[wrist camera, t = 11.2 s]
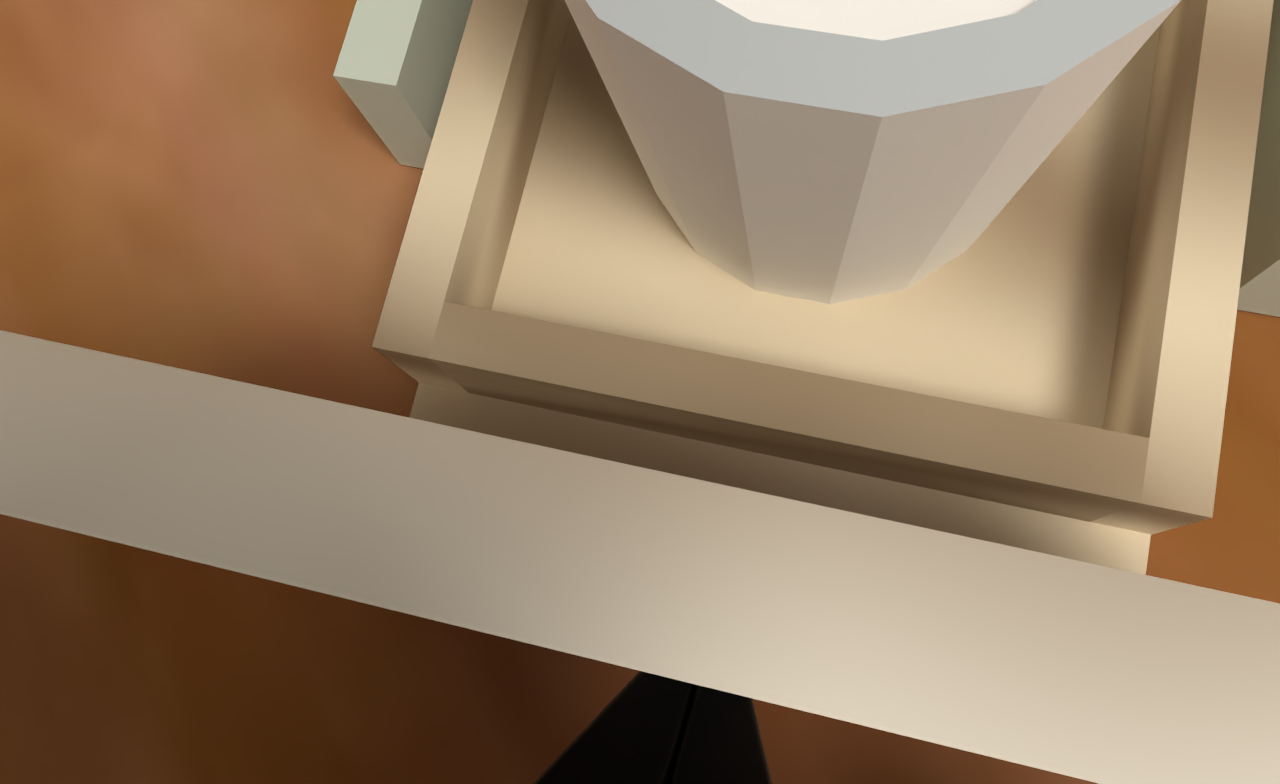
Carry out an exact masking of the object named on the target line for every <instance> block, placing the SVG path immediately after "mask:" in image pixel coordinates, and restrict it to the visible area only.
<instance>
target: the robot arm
mask: <svg viewBox="0 0 1280 784" xmlns="http://www.w3.org/2000/svg"><path fill="white" fill-rule="evenodd" d="M533 784H772V781H771V777H770V773H769V768H768V764H767V760H766V756H765V751H764V747H763V743H762V739H761V734H760V730H759V726H758V722H757V717H756V713H755V709H754V705H753V701H752V698H749V697H744V696H740V695H736V694H732V693H728V692H724V691H720V690H716V689H712V688H708V687H704V686H700V685H696V684H691V683H687V682H683V681H679V680H675V679H671V678H667V677H663V676H659V675H655V674H651V673H647V672H643V671H640V672H639V673H638V674H637V675H636V676H635V677H634V678H633V679H632V680H631V681H630V682H629V683H628V684H627V685H626V686H625V687H624V688H623V689H622V691H621V692H620V693H619V694H618V695H617V696H616V697H615V698H614V699H613V700H612V701H611V702H610V703H609V704H608V705H607V706H606V707H605V708H604V709H603V711H602V712H601V713H600V714H599V715H598V716H597V717H596V718H595V719H594V720H593V721H592V722H591V723H590V724H589V725H588V726H587V727H586V728H585V729H584V731H583V732H582V733H581V734H580V735H579V736H578V737H577V738H576V739H575V740H574V741H573V742H572V743H571V744H570V745H569V746H568V747H567V748H566V749H565V751H564V752H563V753H562V754H561V755H560V756H559V757H558V758H557V759H556V760H555V761H554V762H553V763H552V764H551V765H550V766H549V767H548V768H547V769H546V771H545V772H544V773H543V774H542V775H541V776H540V777H539V778H538V779H537V780H536V781H535V782H534V783H533Z"/></svg>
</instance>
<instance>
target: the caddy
mask: <svg viewBox="0 0 1280 784" xmlns="http://www.w3.org/2000/svg"><path fill="white" fill-rule="evenodd" d="M472 2H473V0H357V2H356V5H355V8H354V12H353V15H352V18H351V21H350V24H349V27H348V30H347V34H346V37H345V40H344V43H343V46H342V49H341V52H340V56H339V59H338V62H337V65H336V68H335V71H334V74H333V76H334V78H335V79H336V80H337V82H338V83H339V84H340V85H341V87H342V88H343V89H344V91H345V92H346V93H347V95H348V96H349V97H350V99H351V100H352V101H353V103H354V104H355V105H356V107H357V108H358V109H359V111H360V112H361V113H362V115H363V116H364V117H365V119H366V120H367V121H368V123H369V124H370V125H371V127H372V128H373V129H374V131H375V132H376V133H377V134H378V136H379V137H380V138H381V140H382V141H383V142H384V144H385V145H386V146H387V148H388V149H389V150H390V152H391V153H392V154H393V156H394V157H395V158H396V160H397V161H398V162H399V164H400V165H405V166H411V167H417V168H422V169H424V166H425V163H426V159H427V156H428V153H429V149H430V146H431V142H432V139H433V136H434V132H435V129H436V125H437V122H438V118H439V115H440V112H441V108H442V105H443V101H444V98H445V95H446V91H447V88H448V84H449V81H450V78H451V74H452V71H453V67H454V64H455V60H456V57H457V54H458V50H459V47H460V43H461V40H462V37H463V33H464V30H465V26H466V23H467V19H468V16H469V13H470V9H471V6H472ZM1237 310H1242V311H1248V312H1253V313H1259V314H1265V315H1271V316H1277V317H1280V0H1274V2H1273V10H1272V18H1271V27H1270V35H1269V44H1268V52H1267V61H1266V69H1265V77H1264V86H1263V94H1262V103H1261V111H1260V120H1259V128H1258V137H1257V145H1256V153H1255V162H1254V170H1253V179H1252V187H1251V196H1250V204H1249V212H1248V221H1247V229H1246V238H1245V246H1244V255H1243V263H1242V272H1241V280H1240V288H1239V297H1238V305H1237Z"/></svg>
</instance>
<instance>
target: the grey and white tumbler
mask: <svg viewBox="0 0 1280 784" xmlns="http://www.w3.org/2000/svg"><path fill="white" fill-rule="evenodd" d="M1180 1H1181V0H565V2H566V4H567V6H568V8H569V11H570V13H571V15H572V17H573V19H574V21H575V23H576V25H577V27H578V30H579V32H580V34H581V36H582V38H583V40H584V42H585V44H586V46H587V49H588V51H589V53H590V55H591V57H592V59H593V61H594V63H595V65H596V68H597V70H598V72H599V74H600V76H601V78H602V80H603V82H604V84H605V86H606V89H607V91H608V93H609V95H610V97H611V99H612V101H613V103H614V105H615V108H616V110H617V112H618V114H619V116H620V118H621V120H622V122H623V124H624V127H625V129H626V131H627V133H628V135H629V137H630V139H631V141H632V143H633V146H634V148H635V150H636V152H637V154H638V156H639V158H640V160H641V162H642V165H643V167H644V169H645V171H646V173H647V175H648V177H649V179H650V181H651V184H652V186H653V188H654V190H655V192H656V194H657V196H658V198H659V199H660V201H661V202H662V204H663V205H664V206H665V208H666V209H667V211H668V212H669V214H670V215H671V217H672V218H673V220H674V221H675V223H676V224H677V226H678V227H679V228H680V230H681V231H682V233H683V234H684V236H685V237H686V239H687V240H688V242H689V243H690V245H691V246H692V247H693V249H694V250H695V252H696V253H698V254H700V255H701V256H703V257H704V258H706V259H707V260H709V261H711V262H712V263H714V264H715V265H717V266H718V267H720V268H721V269H723V270H725V271H726V272H728V273H729V274H731V275H732V276H734V277H736V278H737V279H739V280H740V281H742V282H743V283H745V284H747V285H748V286H750V287H751V288H753V289H754V290H756V291H762V292H767V293H772V294H778V295H783V296H788V297H794V298H799V299H804V300H810V301H815V302H820V303H825V304H833V303H839V302H844V301H849V300H855V299H860V298H866V297H871V296H876V295H882V294H887V293H892V292H898V291H903V290H905V289H907V288H908V287H910V286H912V285H913V284H915V283H916V282H918V281H920V280H921V279H923V278H924V277H926V276H927V275H929V274H931V273H932V272H934V271H935V270H937V269H939V268H940V267H942V266H943V265H945V264H947V263H948V262H950V261H951V260H953V259H954V258H956V257H958V256H959V255H961V254H962V253H964V252H966V251H967V250H968V249H969V248H970V246H971V245H972V244H973V243H974V242H975V241H976V239H977V238H978V237H979V236H980V235H981V234H982V232H983V231H984V230H985V229H986V228H987V227H988V225H989V224H990V223H991V222H992V221H993V220H994V218H995V217H996V216H997V215H998V214H999V213H1000V211H1001V210H1002V209H1003V208H1004V207H1005V206H1006V204H1007V203H1008V202H1009V201H1010V200H1011V199H1012V197H1013V196H1014V195H1015V194H1016V193H1017V192H1018V190H1019V189H1020V188H1021V187H1022V186H1023V185H1024V183H1025V182H1026V181H1027V180H1028V179H1029V178H1030V176H1031V175H1032V174H1033V173H1034V172H1035V171H1036V169H1037V168H1038V167H1039V166H1040V165H1041V164H1042V162H1043V161H1044V160H1045V159H1046V158H1047V156H1048V155H1049V154H1050V153H1051V152H1052V151H1053V149H1054V148H1055V147H1056V146H1057V145H1058V144H1059V142H1060V141H1061V140H1062V139H1063V138H1064V137H1065V135H1066V134H1067V133H1068V132H1069V131H1070V130H1071V128H1072V127H1073V126H1074V125H1075V124H1076V123H1077V121H1078V120H1079V119H1080V118H1081V117H1082V116H1083V114H1084V113H1085V112H1086V111H1087V110H1088V109H1089V107H1090V106H1091V105H1092V104H1093V103H1094V102H1095V100H1096V99H1097V98H1098V97H1099V96H1100V95H1101V93H1102V92H1103V91H1104V90H1105V89H1106V88H1107V86H1108V85H1109V84H1110V83H1111V82H1112V81H1113V79H1114V78H1115V77H1116V76H1117V75H1118V74H1119V72H1120V71H1121V70H1122V69H1123V68H1124V67H1125V65H1126V64H1127V63H1128V62H1129V61H1130V60H1131V58H1132V57H1133V56H1134V55H1135V54H1136V53H1137V51H1138V50H1139V49H1140V48H1141V47H1142V46H1143V44H1144V43H1145V42H1146V41H1147V40H1148V39H1149V37H1150V36H1151V35H1152V34H1153V33H1154V32H1155V30H1156V29H1157V28H1158V27H1159V26H1160V25H1161V23H1162V22H1163V21H1164V20H1165V19H1166V18H1167V16H1168V15H1169V14H1170V13H1171V12H1172V11H1173V9H1174V8H1175V7H1176V6H1177V5H1178V4H1179V2H1180Z"/></svg>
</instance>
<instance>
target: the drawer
mask: <svg viewBox="0 0 1280 784" xmlns="http://www.w3.org/2000/svg"><path fill="white" fill-rule="evenodd" d="M1273 2H1274V0H1181V1H1180V2H1179V4H1178V5H1177V6H1176V7H1175V8H1174V9H1173V11H1172V12H1171V13H1170V14H1169V15H1168V16H1167V18H1166V19H1165V20H1164V21H1163V22H1162V23H1161V25H1160V26H1159V27H1158V28H1157V29H1156V30H1155V32H1154V33H1153V34H1152V35H1151V36H1150V37H1149V39H1148V40H1147V41H1146V42H1145V43H1144V44H1143V46H1142V47H1141V48H1140V49H1139V50H1138V51H1137V53H1136V54H1135V55H1134V56H1133V57H1132V58H1131V60H1130V61H1129V62H1128V63H1127V64H1126V65H1125V67H1124V68H1123V69H1122V70H1121V71H1120V72H1119V74H1118V75H1117V76H1116V77H1115V78H1114V79H1113V81H1112V82H1111V83H1110V84H1109V85H1108V86H1107V88H1106V89H1105V90H1104V91H1103V92H1102V93H1101V95H1100V96H1099V97H1098V98H1097V99H1096V100H1095V102H1094V103H1093V104H1092V105H1091V106H1090V107H1089V109H1088V110H1087V111H1086V112H1085V113H1084V114H1083V116H1082V117H1081V118H1080V119H1079V120H1078V121H1077V123H1076V124H1075V125H1074V126H1073V127H1072V128H1071V130H1070V131H1069V132H1068V133H1067V134H1066V135H1065V137H1064V138H1063V139H1062V140H1061V141H1060V142H1059V144H1058V145H1057V146H1056V147H1055V148H1054V149H1053V151H1052V152H1051V153H1050V154H1049V155H1048V156H1047V158H1046V159H1045V160H1044V161H1043V162H1042V164H1041V165H1040V166H1039V167H1038V168H1037V169H1036V171H1035V172H1034V173H1033V174H1032V175H1031V176H1030V178H1029V179H1028V180H1027V181H1026V182H1025V183H1024V185H1023V186H1022V187H1021V188H1020V189H1019V190H1018V192H1017V193H1016V194H1015V195H1014V196H1013V197H1012V199H1011V200H1010V201H1009V202H1008V203H1007V204H1006V206H1005V207H1004V208H1003V209H1002V210H1001V211H1000V213H999V214H998V215H997V216H996V217H995V218H994V220H993V221H992V222H991V223H990V224H989V225H988V227H987V228H986V229H985V230H984V231H983V232H982V234H981V235H980V236H979V237H978V238H977V239H976V241H975V242H974V243H973V244H972V245H971V246H970V248H969V249H968V250H967V251H966V252H964V253H962V254H961V255H959V256H958V257H956V258H954V259H953V260H951V261H950V262H948V263H947V264H945V265H943V266H942V267H940V268H939V269H937V270H935V271H934V272H932V273H931V274H929V275H927V276H926V277H924V278H923V279H921V280H920V281H918V282H916V283H915V284H913V285H912V286H910V287H908V288H907V289H905V290H903V291H898V292H892V293H887V294H882V295H876V296H871V297H866V298H860V299H855V300H849V301H844V302H839V303H833V304H825V303H820V302H815V301H810V300H804V299H799V298H794V297H788V296H783V295H778V294H772V293H767V292H762V291H756V290H754V289H753V288H751V287H750V286H748V285H747V284H745V283H743V282H742V281H740V280H739V279H737V278H736V277H734V276H732V275H731V274H729V273H728V272H726V271H725V270H723V269H721V268H720V267H718V266H717V265H715V264H714V263H712V262H711V261H709V260H707V259H706V258H704V257H703V256H701V255H700V254H698V253H696V252H695V250H694V249H693V247H692V246H691V245H690V243H689V242H688V240H687V239H686V237H685V236H684V234H683V233H682V231H681V230H680V228H679V227H678V226H677V224H676V223H675V221H674V220H673V218H672V217H671V215H670V214H669V212H668V211H667V209H666V208H665V206H664V205H663V204H662V202H661V201H660V199H659V198H658V196H657V194H656V192H655V190H654V188H653V186H652V184H651V181H650V179H649V177H648V175H647V173H646V171H645V169H644V167H643V165H642V162H641V160H640V158H639V156H638V154H637V152H636V150H635V148H634V146H633V143H632V141H631V139H630V137H629V135H628V133H627V131H626V129H625V127H624V124H623V122H622V120H621V118H620V116H619V114H618V112H617V110H616V108H615V105H614V103H613V101H612V99H611V97H610V95H609V93H608V91H607V89H606V86H605V84H604V82H603V80H602V78H601V76H600V74H599V72H598V70H597V68H596V65H595V63H594V61H593V59H592V57H591V55H590V53H589V51H588V49H587V46H586V44H585V42H584V40H583V38H582V36H581V34H580V32H579V30H578V27H577V25H576V23H575V21H574V19H573V17H572V15H571V13H570V11H569V8H568V6H567V4H566V2H565V0H473V2H472V6H471V9H470V13H469V16H468V19H467V23H466V26H465V30H464V33H463V37H462V40H461V43H460V47H459V50H458V54H457V57H456V60H455V64H454V67H453V71H452V74H451V78H450V81H449V84H448V88H447V91H446V95H445V98H444V101H443V105H442V108H441V112H440V115H439V118H438V122H437V125H436V129H435V132H434V136H433V139H432V142H431V146H430V149H429V153H428V156H427V159H426V163H425V166H424V170H423V173H422V177H421V180H420V183H419V187H418V190H417V194H416V197H415V200H414V204H413V207H412V211H411V214H410V217H409V221H408V224H407V228H406V231H405V235H404V238H403V241H402V245H401V248H400V252H399V255H398V258H397V262H396V265H395V269H394V272H393V276H392V279H391V282H390V286H389V289H388V293H387V296H386V299H385V303H384V306H383V310H382V313H381V316H380V320H379V323H378V327H377V330H376V334H375V337H374V340H373V344H372V347H373V348H374V349H375V350H377V351H378V352H379V353H381V354H382V355H383V356H385V357H386V358H387V359H388V360H390V361H391V362H392V363H394V364H395V365H396V366H398V367H399V368H400V369H402V370H403V371H404V372H406V373H407V374H408V375H410V376H411V377H412V378H414V379H415V380H416V381H417V382H419V384H418V388H417V391H416V395H415V399H414V402H413V406H412V409H411V413H410V416H409V417H404V416H399V415H394V414H390V413H385V412H380V411H376V410H371V409H366V408H362V407H357V406H352V405H348V404H343V403H338V402H334V401H329V400H324V399H320V398H315V397H310V396H306V395H301V394H296V393H292V392H287V391H282V390H278V389H273V388H268V387H263V386H259V385H254V384H249V383H245V382H240V381H235V380H231V379H226V378H221V377H217V376H212V375H207V374H203V373H198V372H193V371H189V370H184V369H179V368H175V367H170V366H165V365H161V364H156V363H151V362H147V361H142V360H137V359H132V358H128V357H123V356H118V355H114V354H109V353H104V352H100V351H95V350H90V349H86V348H81V347H76V346H72V345H67V344H62V343H58V342H53V341H48V340H44V339H39V338H34V337H30V336H25V335H20V334H16V333H11V332H6V331H1V330H0V514H3V515H7V516H11V517H15V518H19V519H23V520H27V521H31V522H35V523H39V524H43V525H48V526H52V527H56V528H60V529H64V530H68V531H72V532H76V533H80V534H84V535H88V536H92V537H96V538H101V539H105V540H109V541H113V542H117V543H121V544H125V545H129V546H133V547H137V548H141V549H145V550H149V551H154V552H158V553H162V554H166V555H170V556H174V557H178V558H182V559H186V560H190V561H194V562H198V563H202V564H207V565H211V566H215V567H219V568H223V569H227V570H231V571H235V572H239V573H243V574H247V575H251V576H255V577H259V578H264V579H268V580H272V581H276V582H280V583H284V584H288V585H292V586H296V587H300V588H304V589H308V590H312V591H317V592H321V593H325V594H329V595H333V596H337V597H341V598H345V599H349V600H353V601H357V602H361V603H365V604H370V605H374V606H378V607H382V608H386V609H390V610H394V611H398V612H402V613H406V614H410V615H414V616H418V617H423V618H427V619H431V620H435V621H439V622H443V623H447V624H451V625H455V626H459V627H463V628H467V629H471V630H475V631H480V632H484V633H488V634H492V635H496V636H500V637H504V638H508V639H512V640H516V641H520V642H524V643H528V644H533V645H537V646H541V647H545V648H549V649H553V650H557V651H561V652H565V653H569V654H573V655H577V656H581V657H586V658H590V659H594V660H598V661H602V662H606V663H610V664H614V665H618V666H622V667H626V668H630V669H634V670H639V671H643V672H647V673H651V674H655V675H659V676H663V677H667V678H671V679H675V680H679V681H683V682H687V683H691V684H696V685H700V686H704V687H708V688H712V689H716V690H720V691H724V692H728V693H732V694H736V695H740V696H744V697H749V698H753V699H757V700H761V701H765V702H769V703H773V704H777V705H781V706H785V707H789V708H793V709H797V710H802V711H806V712H810V713H814V714H818V715H822V716H826V717H830V718H834V719H838V720H842V721H846V722H850V723H855V724H859V725H863V726H867V727H871V728H875V729H879V730H883V731H887V732H891V733H895V734H899V735H903V736H908V737H912V738H916V739H920V740H924V741H928V742H932V743H936V744H940V745H944V746H948V747H952V748H956V749H960V750H965V751H969V752H973V753H977V754H981V755H985V756H989V757H993V758H997V759H1001V760H1005V761H1009V762H1013V763H1018V764H1022V765H1026V766H1030V767H1034V768H1038V769H1042V770H1046V771H1050V772H1054V773H1058V774H1062V775H1066V776H1071V777H1075V778H1079V779H1083V780H1087V781H1091V782H1095V783H1099V784H1280V604H1279V603H1274V602H1269V601H1265V600H1260V599H1255V598H1251V597H1246V596H1241V595H1237V594H1232V593H1227V592H1223V591H1218V590H1213V589H1209V588H1204V587H1199V586H1195V585H1190V584H1185V583H1181V582H1176V581H1171V580H1167V579H1162V578H1157V577H1152V576H1148V575H1146V568H1147V560H1148V552H1149V545H1150V537H1151V535H1152V534H1155V533H1159V532H1162V531H1166V530H1170V529H1173V528H1177V527H1181V526H1184V525H1188V524H1192V523H1195V522H1199V521H1203V520H1206V519H1210V518H1212V516H1213V508H1214V499H1215V491H1216V482H1217V474H1218V466H1219V457H1220V449H1221V440H1222V432H1223V423H1224V415H1225V407H1226V398H1227V390H1228V381H1229V373H1230V364H1231V356H1232V347H1233V339H1234V331H1235V322H1236V314H1237V305H1238V297H1239V288H1240V280H1241V272H1242V263H1243V255H1244V246H1245V238H1246V229H1247V221H1248V212H1249V204H1250V196H1251V187H1252V179H1253V170H1254V162H1255V153H1256V145H1257V137H1258V128H1259V120H1260V111H1261V103H1262V94H1263V86H1264V77H1265V69H1266V61H1267V52H1268V44H1269V35H1270V27H1271V18H1272V10H1273Z"/></svg>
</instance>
